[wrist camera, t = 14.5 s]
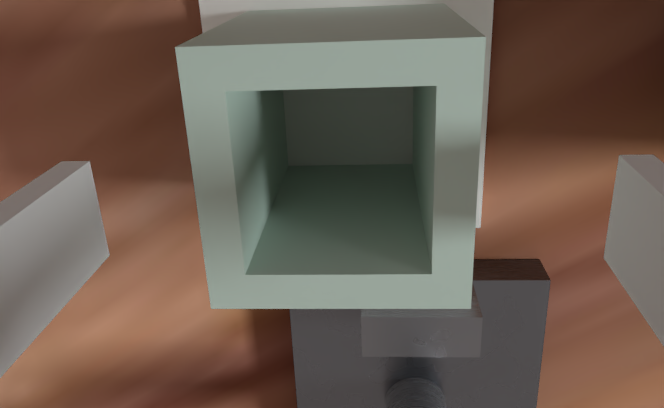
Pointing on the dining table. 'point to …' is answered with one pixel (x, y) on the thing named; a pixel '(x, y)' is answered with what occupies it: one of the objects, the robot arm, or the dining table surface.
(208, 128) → the sleeve
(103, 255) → the robot arm
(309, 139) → the mat
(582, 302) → the dining table surface
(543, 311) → the block with threaded rod
